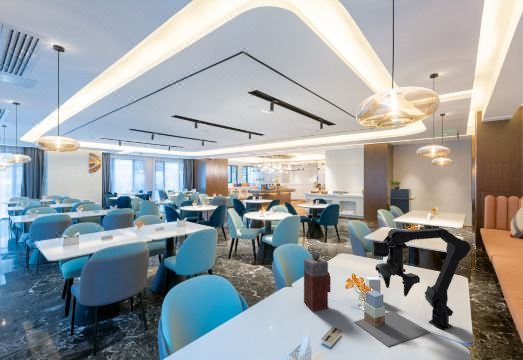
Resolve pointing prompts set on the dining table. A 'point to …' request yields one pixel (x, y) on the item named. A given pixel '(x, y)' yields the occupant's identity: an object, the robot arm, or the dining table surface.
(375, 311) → the tower mid
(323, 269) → the dark red bottle
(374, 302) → the cube
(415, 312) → the dining table surface
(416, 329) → the placemat
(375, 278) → the skincare box
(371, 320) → the tower base
